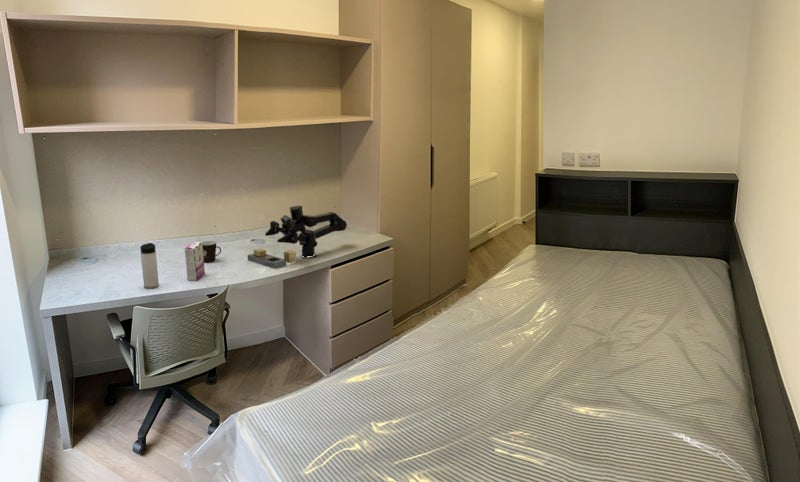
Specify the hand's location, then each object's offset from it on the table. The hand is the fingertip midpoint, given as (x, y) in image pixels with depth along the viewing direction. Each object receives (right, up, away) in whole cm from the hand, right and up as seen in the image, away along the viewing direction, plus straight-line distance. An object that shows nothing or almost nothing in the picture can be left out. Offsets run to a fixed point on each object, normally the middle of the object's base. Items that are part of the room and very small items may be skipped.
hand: (271, 238), depth 298 cm
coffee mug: (-34, -13, +10) cm, 38 cm away
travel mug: (-49, -23, -29) cm, 61 cm away
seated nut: (-9, -12, +13) cm, 20 cm away
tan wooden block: (+7, -13, +12) cm, 19 cm away
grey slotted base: (-5, -13, +10) cm, 17 cm away
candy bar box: (-33, -19, -15) cm, 41 cm away
